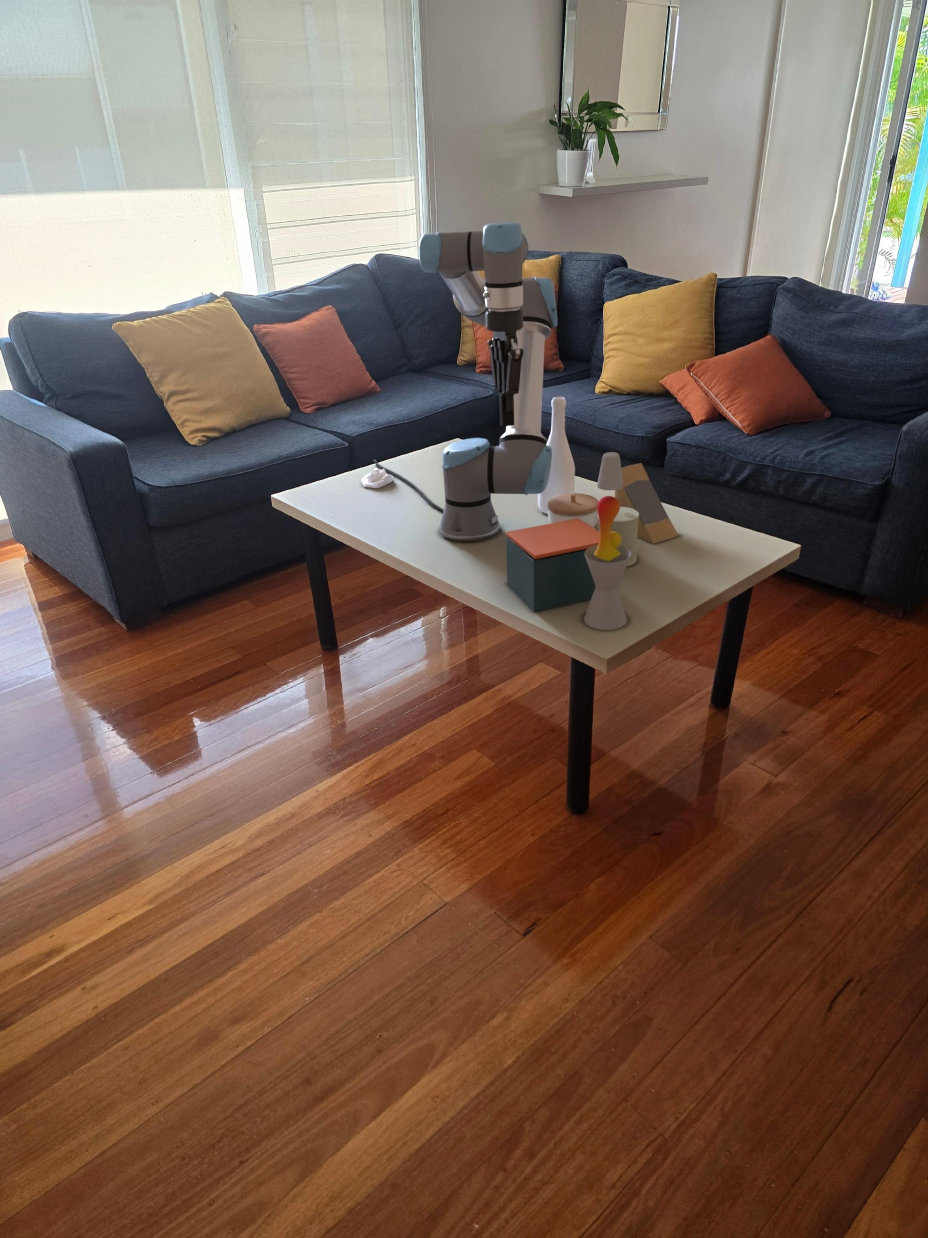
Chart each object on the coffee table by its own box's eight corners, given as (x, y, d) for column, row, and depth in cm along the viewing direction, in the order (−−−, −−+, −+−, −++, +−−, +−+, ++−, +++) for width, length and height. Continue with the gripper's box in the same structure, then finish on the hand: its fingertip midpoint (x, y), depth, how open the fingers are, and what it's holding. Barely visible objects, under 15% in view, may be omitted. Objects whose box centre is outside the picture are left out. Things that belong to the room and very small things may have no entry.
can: (627, 570, 190) (630, 521, 184) (590, 563, 195) (591, 515, 189) (642, 555, 197) (645, 507, 191) (606, 548, 201) (608, 501, 195)
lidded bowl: (562, 550, 202) (563, 507, 196) (538, 532, 212) (538, 491, 207) (607, 539, 206) (609, 497, 201) (581, 522, 216) (582, 482, 211)
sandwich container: (653, 544, 202) (657, 485, 195) (612, 525, 214) (614, 468, 207) (679, 535, 206) (684, 477, 199) (638, 517, 218) (641, 461, 210)
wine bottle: (567, 517, 219) (572, 403, 205) (533, 513, 223) (535, 401, 208) (577, 505, 227) (582, 394, 213) (543, 501, 230) (546, 392, 216)
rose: (393, 473, 245) (360, 475, 244) (394, 487, 247) (361, 490, 246) (392, 462, 253) (360, 465, 253) (393, 476, 256) (361, 479, 255)
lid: (612, 543, 173) (612, 539, 173) (535, 559, 168) (535, 555, 168) (578, 521, 186) (578, 518, 186) (505, 535, 181) (505, 532, 181)
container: (608, 595, 180) (610, 545, 174) (534, 612, 175) (533, 561, 169) (577, 569, 192) (578, 521, 186) (507, 584, 187) (505, 535, 181)
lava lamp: (611, 634, 165) (618, 464, 148) (574, 621, 171) (576, 456, 154) (636, 617, 171) (645, 451, 154) (599, 605, 176) (604, 443, 159)
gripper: (474, 305, 170) (479, 420, 181) (499, 314, 159) (503, 435, 171) (508, 302, 172) (510, 415, 184) (535, 310, 161) (536, 430, 173)
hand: (507, 424), depth 177 cm, fingers closed
